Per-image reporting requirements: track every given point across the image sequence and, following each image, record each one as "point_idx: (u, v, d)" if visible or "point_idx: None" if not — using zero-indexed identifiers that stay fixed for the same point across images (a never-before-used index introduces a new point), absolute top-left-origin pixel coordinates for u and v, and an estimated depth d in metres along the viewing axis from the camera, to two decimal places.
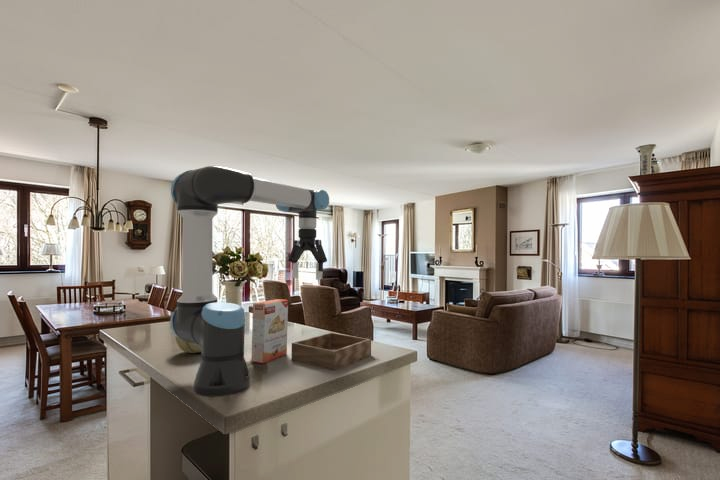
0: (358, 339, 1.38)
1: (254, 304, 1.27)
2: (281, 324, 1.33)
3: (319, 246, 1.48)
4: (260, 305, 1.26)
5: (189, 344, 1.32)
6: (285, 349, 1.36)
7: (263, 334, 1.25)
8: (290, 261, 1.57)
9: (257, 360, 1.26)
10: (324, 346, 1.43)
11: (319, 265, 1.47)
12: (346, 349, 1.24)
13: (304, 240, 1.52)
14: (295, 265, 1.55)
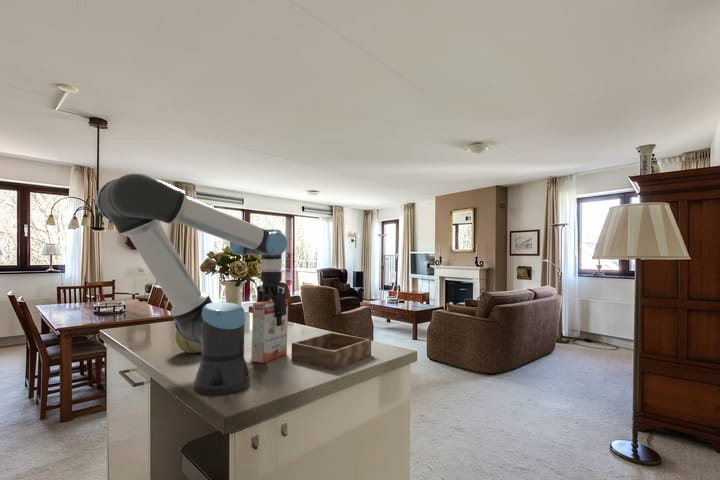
0: (358, 339, 1.38)
1: (254, 304, 1.27)
2: None
3: (281, 296, 1.29)
4: (260, 305, 1.26)
5: (189, 344, 1.32)
6: (285, 349, 1.36)
7: (263, 334, 1.25)
8: None
9: (257, 360, 1.26)
10: (324, 346, 1.43)
11: (277, 319, 1.29)
12: (346, 349, 1.24)
13: (267, 282, 1.33)
14: None
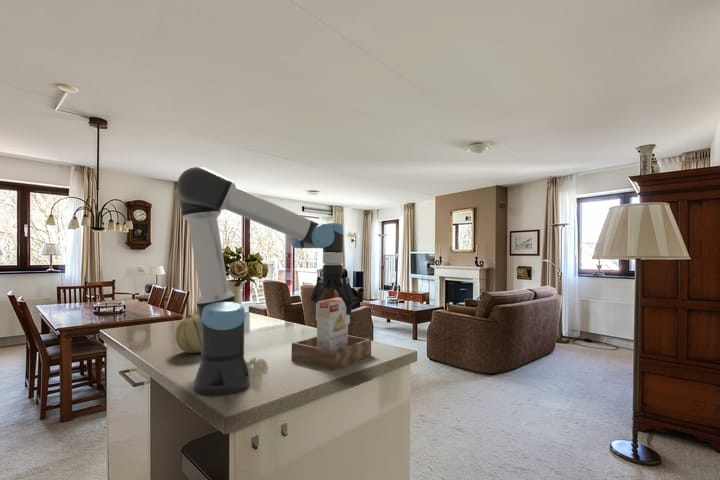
0: (358, 339, 1.38)
1: (319, 302, 1.28)
2: (343, 322, 1.34)
3: (347, 286, 1.29)
4: (325, 303, 1.27)
5: (189, 344, 1.32)
6: None
7: (328, 332, 1.26)
8: (313, 300, 1.38)
9: None
10: None
11: (347, 308, 1.29)
12: (346, 349, 1.24)
13: (329, 277, 1.34)
14: None
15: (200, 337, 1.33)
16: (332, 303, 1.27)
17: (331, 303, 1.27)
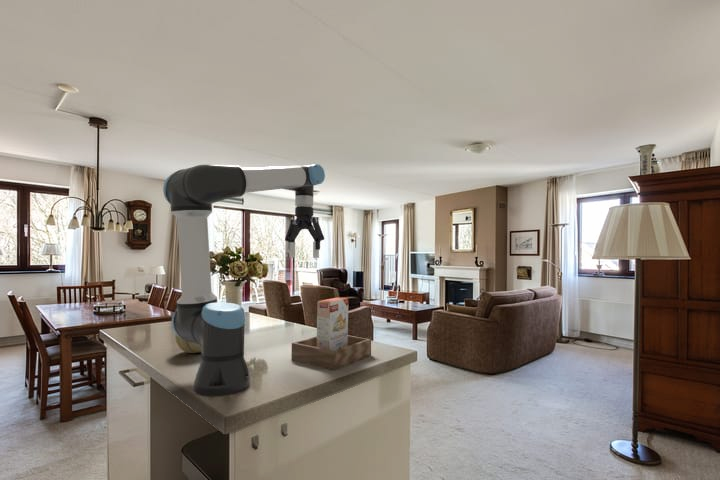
0: (358, 339, 1.38)
1: (318, 302, 1.28)
2: (343, 322, 1.34)
3: (316, 224, 1.45)
4: (325, 303, 1.27)
5: (189, 344, 1.32)
6: None
7: (328, 332, 1.26)
8: (287, 240, 1.54)
9: None
10: None
11: (316, 243, 1.44)
12: (346, 349, 1.24)
13: (301, 218, 1.49)
14: (292, 244, 1.52)
15: None
16: (332, 303, 1.27)
17: (331, 303, 1.27)
